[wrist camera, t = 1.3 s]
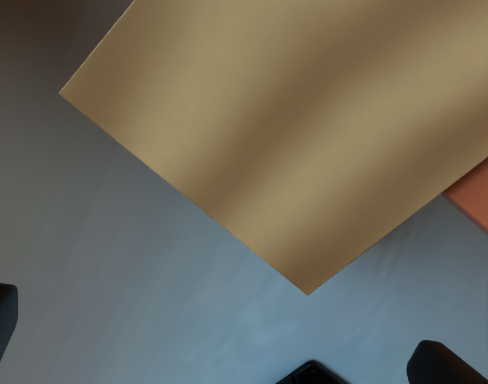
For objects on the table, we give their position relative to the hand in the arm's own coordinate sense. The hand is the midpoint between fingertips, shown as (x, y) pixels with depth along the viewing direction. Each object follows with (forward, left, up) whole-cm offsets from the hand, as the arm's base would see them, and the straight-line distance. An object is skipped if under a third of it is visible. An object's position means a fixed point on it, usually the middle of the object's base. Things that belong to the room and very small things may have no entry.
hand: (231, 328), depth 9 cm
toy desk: (0, -7, -14) cm, 15 cm away
